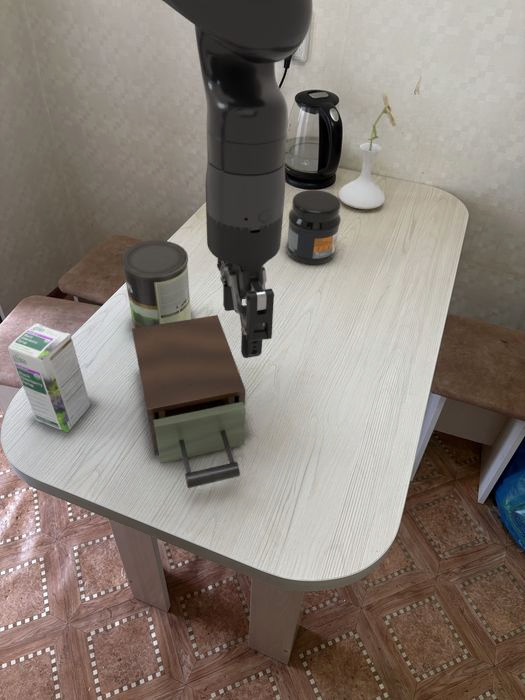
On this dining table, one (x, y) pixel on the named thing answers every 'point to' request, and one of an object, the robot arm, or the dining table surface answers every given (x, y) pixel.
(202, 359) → the cabinet
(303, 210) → the supplement container
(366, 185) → the flower in vase
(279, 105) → the robot arm
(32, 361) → the syrup box
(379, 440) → the dining table surface
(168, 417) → the drawer
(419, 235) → the dining table surface
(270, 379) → the dining table surface
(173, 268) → the coffee can
